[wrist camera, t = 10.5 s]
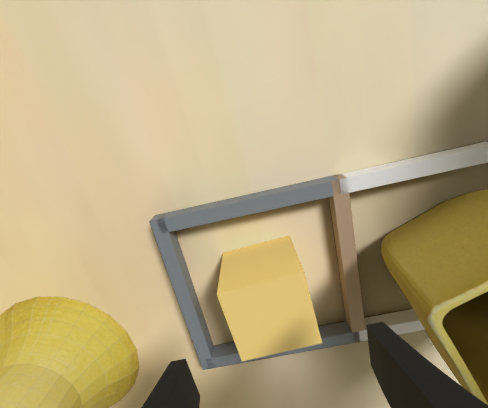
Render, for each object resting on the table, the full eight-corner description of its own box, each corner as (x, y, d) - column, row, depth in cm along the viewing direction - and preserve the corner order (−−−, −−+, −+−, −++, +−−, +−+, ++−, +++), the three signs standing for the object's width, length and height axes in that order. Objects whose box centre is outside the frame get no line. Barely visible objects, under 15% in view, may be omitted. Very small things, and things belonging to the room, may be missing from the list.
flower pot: (344, 228, 19) (426, 317, 11) (462, 158, 18) (669, 195, 9) (397, 313, 21) (501, 444, 13) (506, 257, 20) (708, 362, 11)
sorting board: (529, 131, 17) (549, 132, 16) (515, 300, 21) (530, 310, 20) (155, 215, 19) (149, 221, 18) (204, 357, 23) (202, 369, 21)
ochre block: (289, 234, 19) (304, 272, 15) (304, 291, 21) (322, 343, 16) (223, 252, 20) (216, 294, 15) (242, 307, 21) (241, 361, 16)
